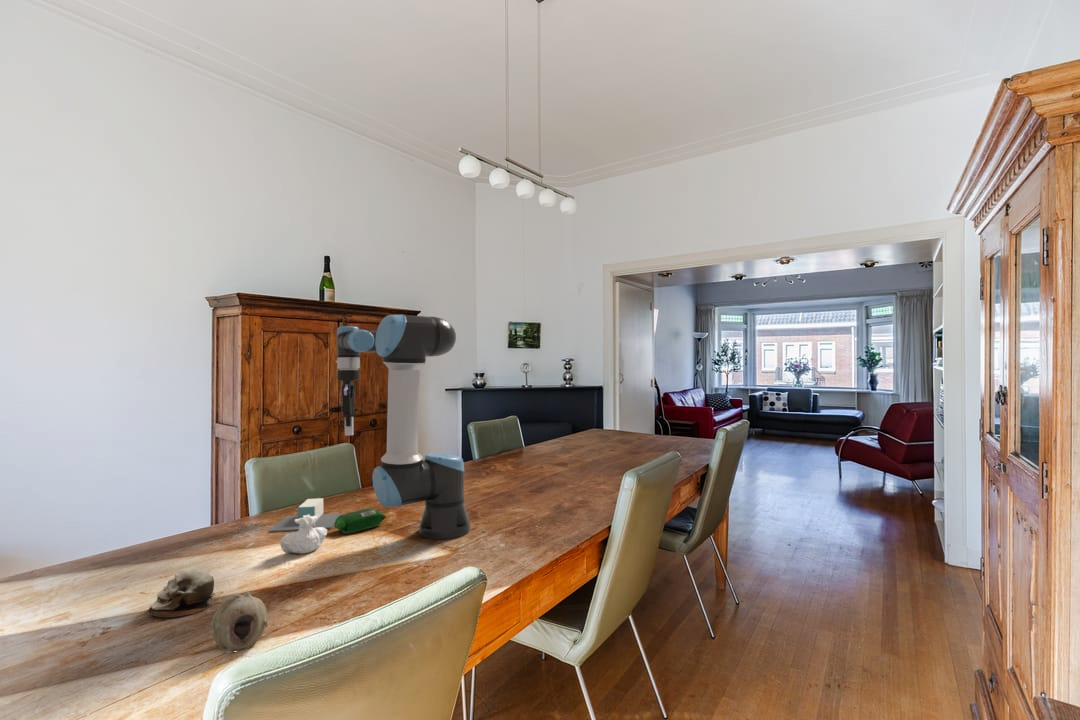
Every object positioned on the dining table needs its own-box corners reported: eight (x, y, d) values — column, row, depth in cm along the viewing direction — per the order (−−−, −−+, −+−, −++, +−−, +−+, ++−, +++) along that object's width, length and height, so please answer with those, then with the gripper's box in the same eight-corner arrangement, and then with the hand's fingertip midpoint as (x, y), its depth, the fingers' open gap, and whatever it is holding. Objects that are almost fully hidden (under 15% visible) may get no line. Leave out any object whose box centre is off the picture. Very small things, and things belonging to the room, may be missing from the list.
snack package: (389, 525, 156) (389, 508, 156) (340, 537, 145) (340, 520, 145) (379, 520, 161) (379, 504, 161) (330, 532, 150) (330, 515, 150)
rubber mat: (330, 528, 152) (330, 527, 152) (268, 532, 149) (268, 530, 149) (342, 514, 166) (342, 513, 166) (285, 517, 164) (285, 516, 164)
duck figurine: (281, 565, 130) (288, 539, 125) (275, 542, 134) (281, 515, 129) (328, 553, 138) (336, 528, 133) (321, 531, 142) (329, 506, 137)
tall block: (323, 513, 167) (314, 522, 157) (307, 513, 166) (297, 523, 156) (323, 498, 167) (314, 506, 157) (307, 498, 166) (297, 507, 156)
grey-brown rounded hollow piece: (214, 662, 88) (194, 613, 88) (254, 631, 96) (235, 587, 95) (246, 658, 85) (225, 607, 84) (284, 626, 92) (266, 580, 92)
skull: (138, 622, 96) (147, 570, 102) (152, 638, 103) (159, 588, 109) (212, 607, 101) (216, 558, 107) (220, 623, 108) (223, 576, 114)
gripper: (341, 369, 182) (341, 433, 182) (333, 369, 170) (333, 438, 169) (362, 369, 184) (363, 432, 184) (356, 369, 171) (356, 437, 171)
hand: (349, 435), depth 176 cm, fingers closed
